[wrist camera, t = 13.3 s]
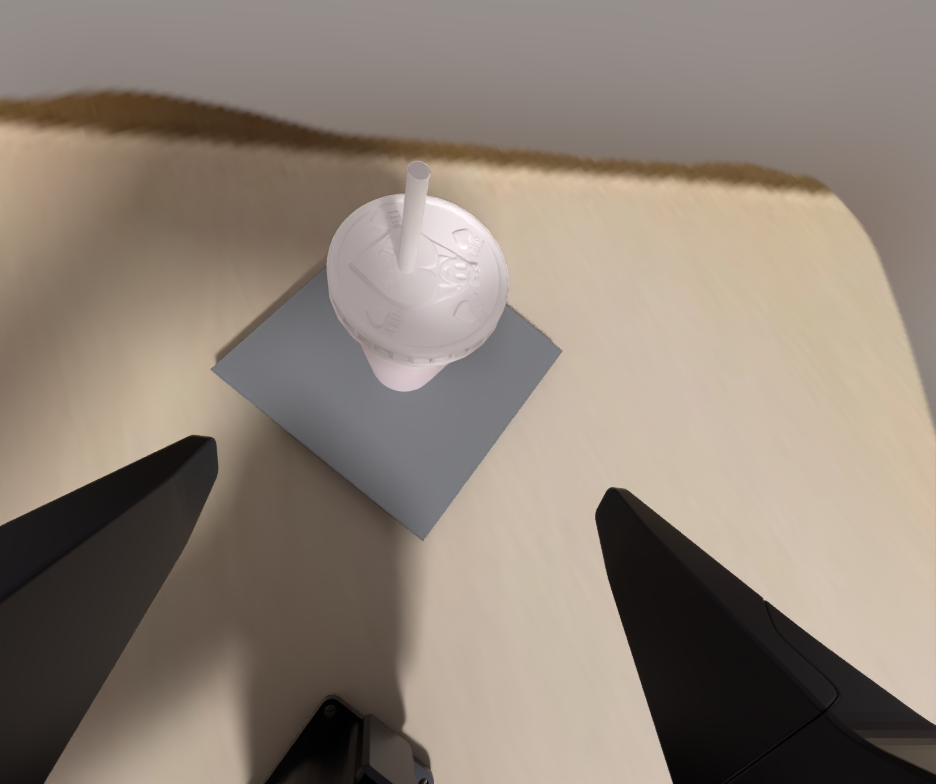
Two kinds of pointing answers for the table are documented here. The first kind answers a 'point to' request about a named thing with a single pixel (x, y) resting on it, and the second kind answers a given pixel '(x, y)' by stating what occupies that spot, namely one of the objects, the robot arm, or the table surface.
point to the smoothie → (415, 282)
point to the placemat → (386, 402)
